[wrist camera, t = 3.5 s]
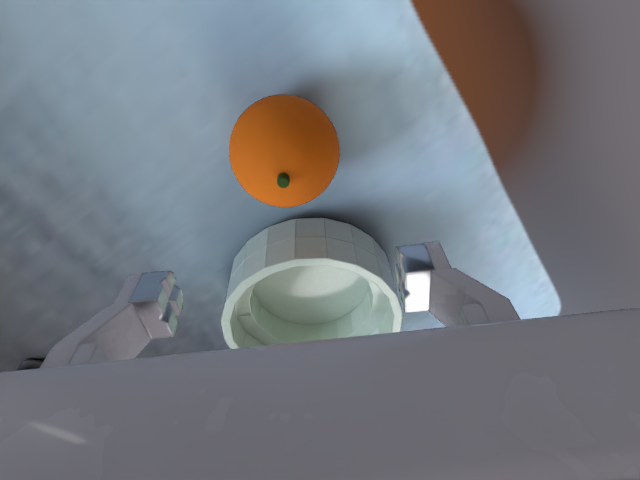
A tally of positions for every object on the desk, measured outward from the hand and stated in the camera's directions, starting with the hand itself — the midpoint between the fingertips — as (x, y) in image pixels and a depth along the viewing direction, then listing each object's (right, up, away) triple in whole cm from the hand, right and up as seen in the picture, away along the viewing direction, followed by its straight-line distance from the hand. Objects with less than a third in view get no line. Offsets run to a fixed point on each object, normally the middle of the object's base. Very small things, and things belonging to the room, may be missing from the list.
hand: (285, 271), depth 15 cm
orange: (-1, +6, +8) cm, 10 cm away
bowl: (+1, -2, +17) cm, 17 cm away
